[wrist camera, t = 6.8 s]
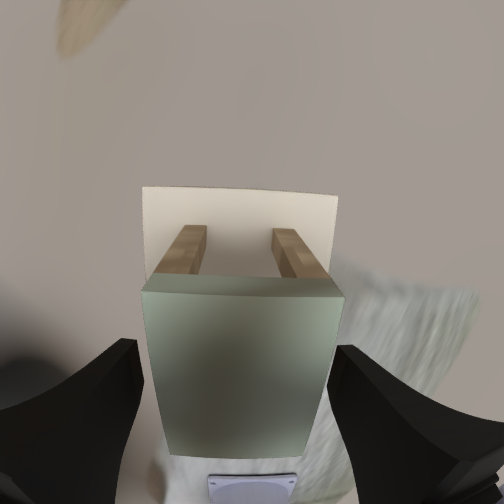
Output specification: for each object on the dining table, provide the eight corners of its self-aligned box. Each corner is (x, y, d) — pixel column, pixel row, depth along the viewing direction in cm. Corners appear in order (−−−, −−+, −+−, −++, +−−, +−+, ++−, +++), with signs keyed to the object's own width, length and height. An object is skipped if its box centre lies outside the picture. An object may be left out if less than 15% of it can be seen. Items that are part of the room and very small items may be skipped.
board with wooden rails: (294, 228, 14) (345, 297, 7) (280, 353, 16) (302, 456, 9) (185, 224, 14) (140, 291, 7) (189, 350, 16) (170, 454, 9)
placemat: (306, 377, 17) (307, 381, 17) (159, 373, 17) (157, 377, 16) (335, 194, 14) (338, 196, 13) (144, 186, 13) (142, 187, 13)
